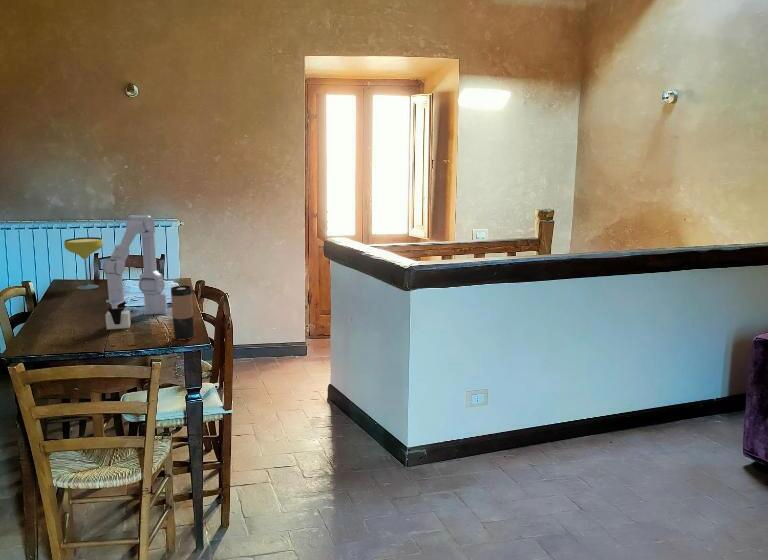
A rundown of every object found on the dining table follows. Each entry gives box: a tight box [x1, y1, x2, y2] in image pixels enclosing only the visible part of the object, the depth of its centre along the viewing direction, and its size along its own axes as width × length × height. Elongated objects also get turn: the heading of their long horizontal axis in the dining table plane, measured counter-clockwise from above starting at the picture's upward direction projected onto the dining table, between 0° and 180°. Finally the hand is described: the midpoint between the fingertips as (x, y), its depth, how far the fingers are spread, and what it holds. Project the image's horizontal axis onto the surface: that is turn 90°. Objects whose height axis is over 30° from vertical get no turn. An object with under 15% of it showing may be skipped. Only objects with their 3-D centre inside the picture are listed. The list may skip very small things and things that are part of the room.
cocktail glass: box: [63, 236, 103, 291], centre depth 361 cm, size 18×18×25 cm
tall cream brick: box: [105, 309, 132, 330], centre depth 287 cm, size 9×6×6 cm
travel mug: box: [170, 285, 195, 340], centre depth 269 cm, size 8×8×20 cm
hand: (118, 321), depth 288 cm, fingers open, 7 cm apart
